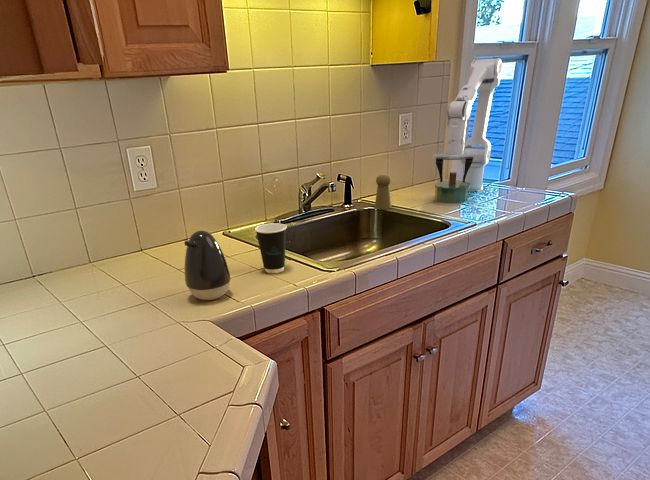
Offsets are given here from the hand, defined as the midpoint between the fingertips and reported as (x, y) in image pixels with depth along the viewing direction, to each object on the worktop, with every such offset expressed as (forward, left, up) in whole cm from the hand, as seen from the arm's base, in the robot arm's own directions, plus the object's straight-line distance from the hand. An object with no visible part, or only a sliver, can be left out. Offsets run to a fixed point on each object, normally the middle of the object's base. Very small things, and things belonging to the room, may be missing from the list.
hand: (452, 181), depth 178 cm
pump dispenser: (+97, -49, -7) cm, 109 cm away
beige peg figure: (+10, -23, -7) cm, 26 cm away
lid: (0, 0, -1) cm, 1 cm away
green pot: (0, 0, -7) cm, 7 cm away
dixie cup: (+78, -40, -7) cm, 88 cm away
